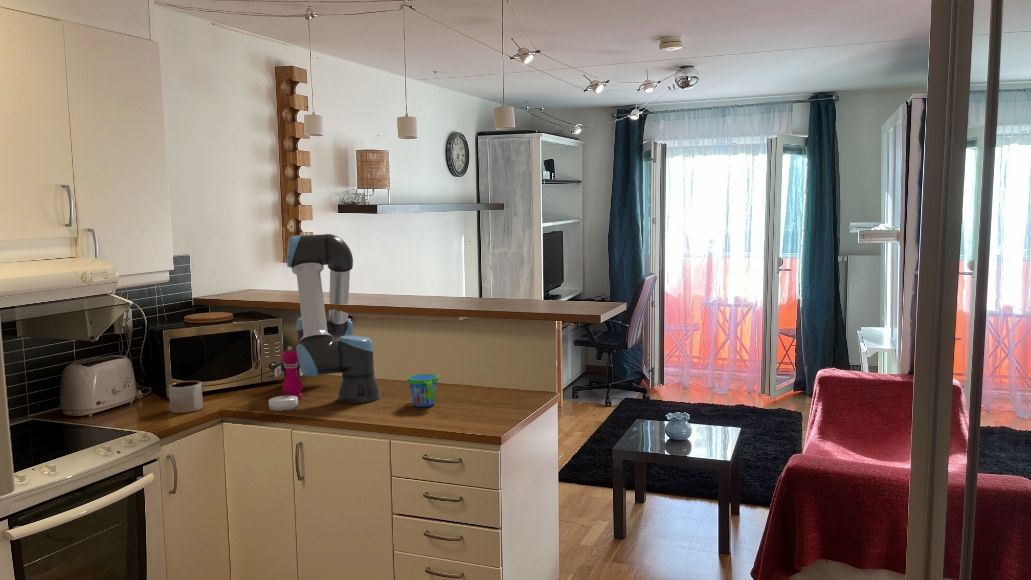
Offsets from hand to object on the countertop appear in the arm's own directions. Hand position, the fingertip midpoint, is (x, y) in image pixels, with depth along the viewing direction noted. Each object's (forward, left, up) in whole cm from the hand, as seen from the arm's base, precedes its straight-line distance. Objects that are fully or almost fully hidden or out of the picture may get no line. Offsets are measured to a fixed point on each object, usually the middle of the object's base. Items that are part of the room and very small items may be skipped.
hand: (288, 372), depth 284 cm
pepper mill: (+2, -4, -11) cm, 12 cm away
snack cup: (-50, -14, -11) cm, 53 cm away
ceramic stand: (-3, +6, -11) cm, 13 cm away
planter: (+28, +22, -11) cm, 38 cm away
